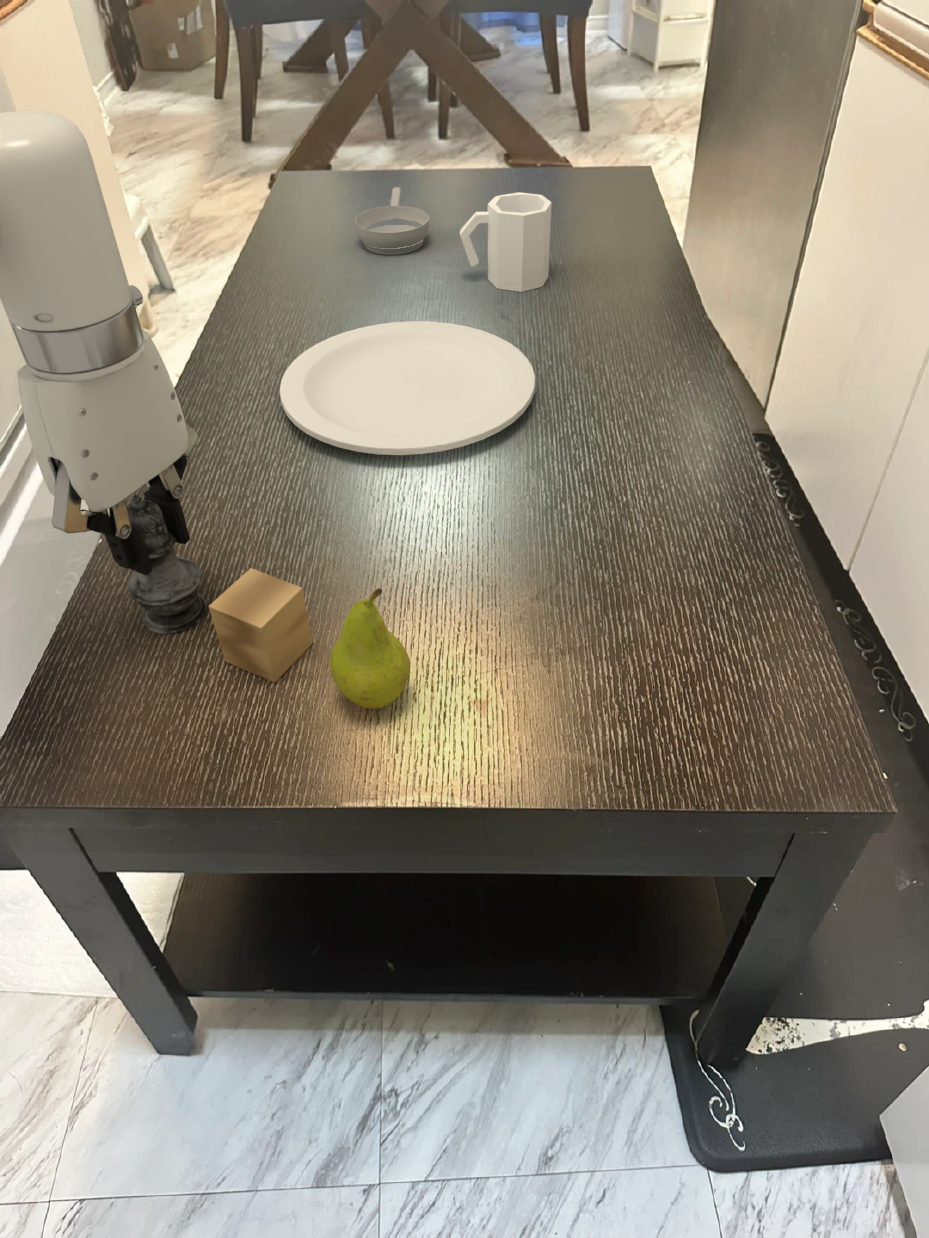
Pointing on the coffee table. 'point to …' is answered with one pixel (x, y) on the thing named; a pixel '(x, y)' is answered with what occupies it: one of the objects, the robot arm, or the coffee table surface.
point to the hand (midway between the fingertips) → (154, 550)
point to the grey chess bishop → (164, 576)
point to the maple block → (262, 624)
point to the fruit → (369, 658)
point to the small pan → (392, 227)
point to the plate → (407, 388)
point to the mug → (514, 240)
